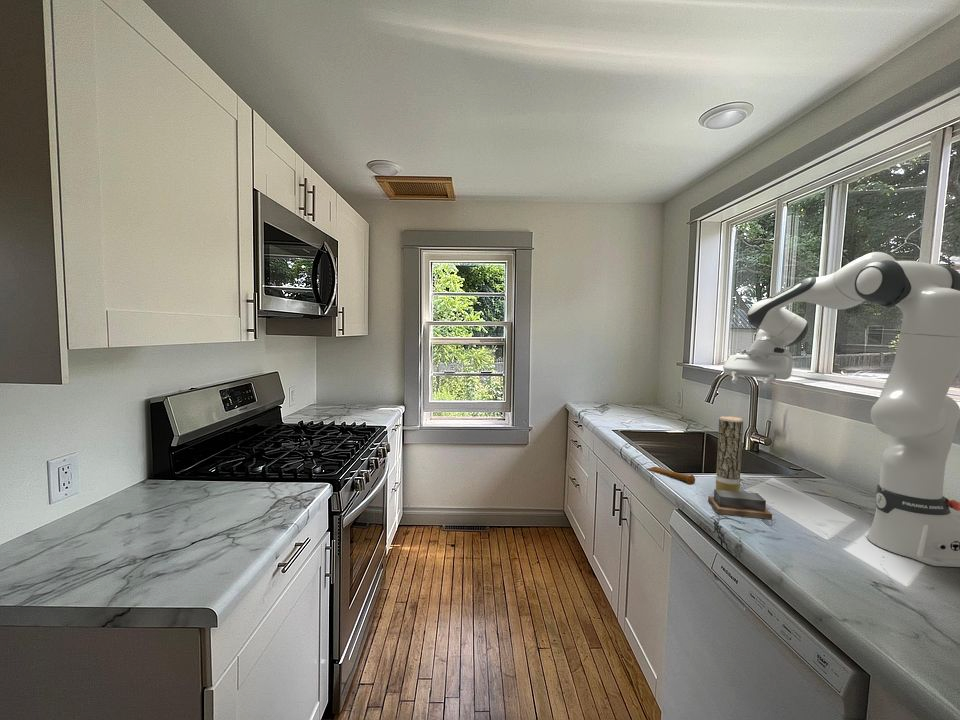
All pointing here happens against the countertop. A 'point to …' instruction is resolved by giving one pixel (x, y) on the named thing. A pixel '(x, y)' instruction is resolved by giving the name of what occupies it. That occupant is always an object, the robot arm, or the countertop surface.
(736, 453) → the bark patterned cylinder
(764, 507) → the stand
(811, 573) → the countertop surface
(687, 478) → the primitive tool
